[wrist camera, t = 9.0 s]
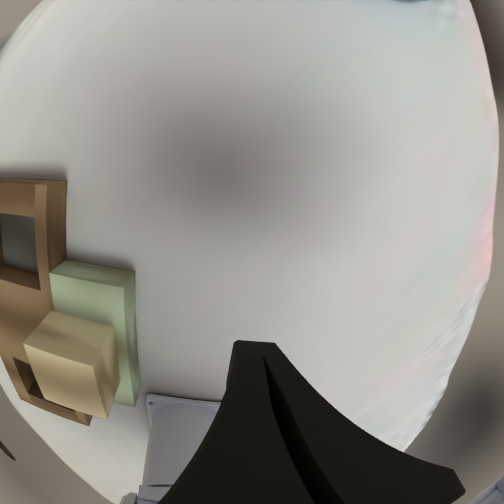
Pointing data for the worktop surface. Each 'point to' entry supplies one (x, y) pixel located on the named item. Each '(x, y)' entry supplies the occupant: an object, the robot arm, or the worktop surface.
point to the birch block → (75, 363)
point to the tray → (56, 289)
